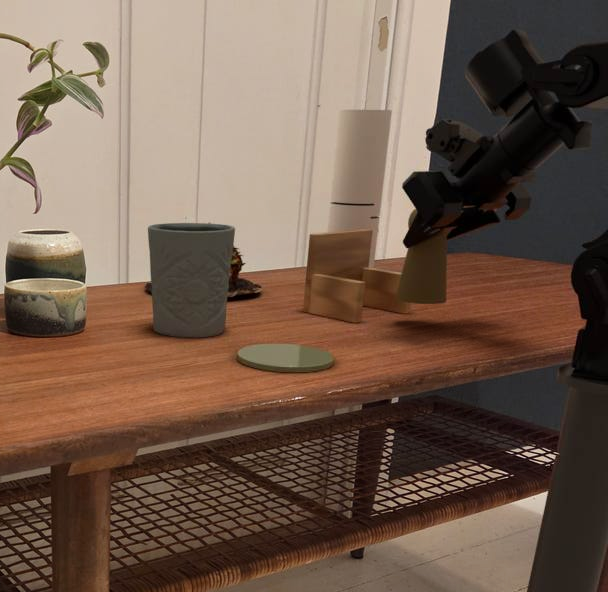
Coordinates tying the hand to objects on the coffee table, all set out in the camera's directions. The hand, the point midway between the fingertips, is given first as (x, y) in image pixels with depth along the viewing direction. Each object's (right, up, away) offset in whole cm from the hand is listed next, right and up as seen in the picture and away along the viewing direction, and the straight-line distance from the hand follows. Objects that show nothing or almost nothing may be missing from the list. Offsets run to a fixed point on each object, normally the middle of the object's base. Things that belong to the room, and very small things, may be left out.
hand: (418, 243), depth 108 cm
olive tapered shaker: (+1, -7, +1) cm, 7 cm away
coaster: (-19, -16, -15) cm, 29 cm away
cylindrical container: (-3, -1, +25) cm, 25 cm away
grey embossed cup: (-28, -11, -2) cm, 30 cm away
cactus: (-24, -1, +22) cm, 33 cm away
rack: (-5, -7, +10) cm, 13 cm away
